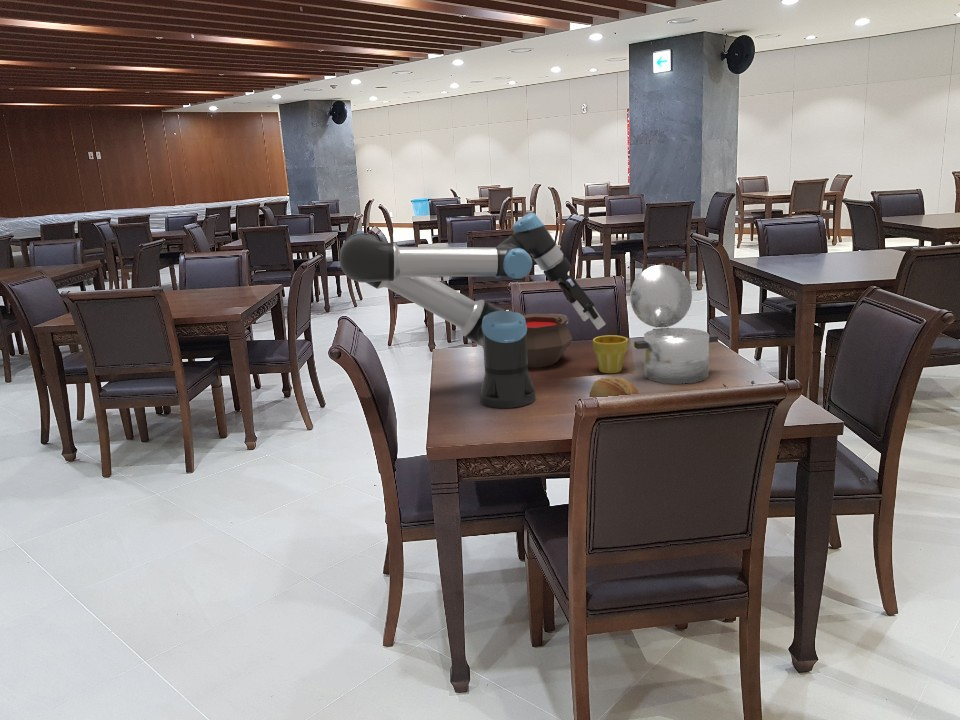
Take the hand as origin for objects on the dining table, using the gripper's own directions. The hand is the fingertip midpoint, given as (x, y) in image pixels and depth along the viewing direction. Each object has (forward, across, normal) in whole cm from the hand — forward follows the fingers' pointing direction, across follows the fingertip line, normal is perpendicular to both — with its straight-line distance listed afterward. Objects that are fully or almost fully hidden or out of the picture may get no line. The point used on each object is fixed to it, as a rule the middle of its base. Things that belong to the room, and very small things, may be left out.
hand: (594, 322), depth 210 cm
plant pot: (+17, +6, +3) cm, 18 cm away
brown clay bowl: (+7, +24, +19) cm, 31 cm away
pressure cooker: (+26, -4, -10) cm, 28 cm away
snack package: (+31, -35, -15) cm, 49 cm away
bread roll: (+13, -28, +12) cm, 33 cm away
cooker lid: (+8, +5, -22) cm, 23 cm away
